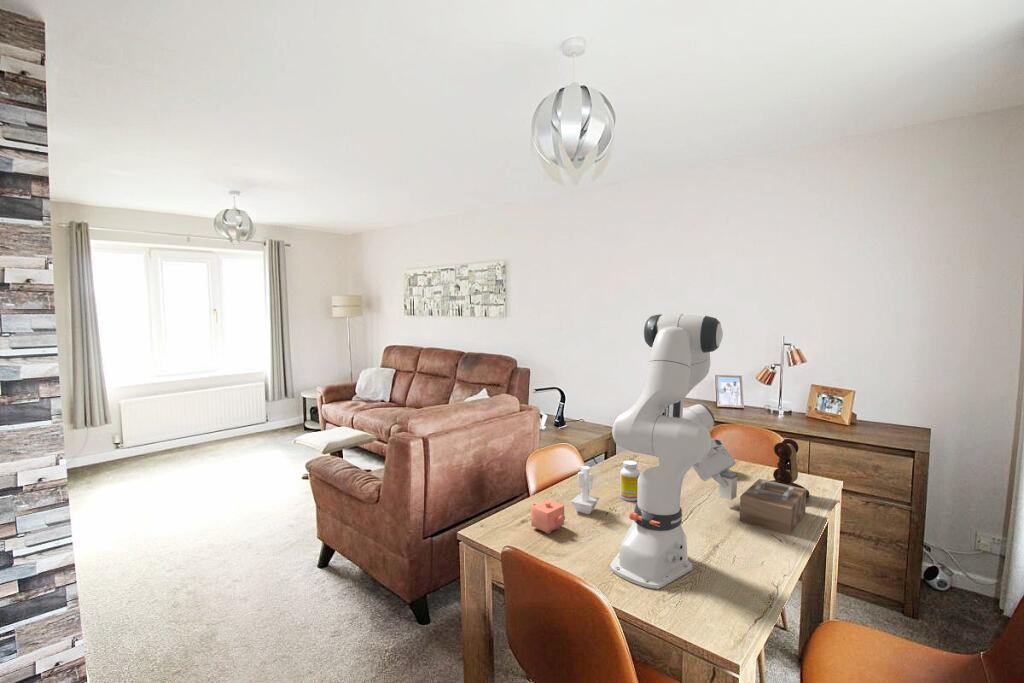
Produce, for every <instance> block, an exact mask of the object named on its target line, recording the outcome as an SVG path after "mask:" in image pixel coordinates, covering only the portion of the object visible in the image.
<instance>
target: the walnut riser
mask: <svg viewBox="0 0 1024 683" xmlns="http://www.w3.org/2000/svg"><path fill="white" fill-rule="evenodd" d="M806 489H807V488H805V489H803V488H799V487H794V486H790V485H785V484H781V483H776V482H772V481H771V480H768V479H767V480H766V479H764V478H763V479H762V478H758V479H757V480H756V481H754V483H753V484H752V485H751V486H750V487H748V488H747V489H746V491H744V492H743V493H742V494H741V495H740V496H739V521H740V522H742V523H746V524H748V525H753V526H755V527H759V528H763V529H766V530H769V531H773V532H777V533H780V534H783V535H787V536H791V535H792V533H793V532H794V530H795V528H797V526H798V524H799V523H800V522H801V520H802V519H803V517H805V516H804V515H805V514H806V508H807V506H806V505H807V504H806V503H807V502H806V501H807V499H806Z"/></svg>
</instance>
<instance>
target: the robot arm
mask: <svg viewBox="0 0 1024 683" xmlns="http://www.w3.org/2000/svg"><path fill="white" fill-rule="evenodd" d="M723 335H724V332H723V328H722V324H721V322H720V321H719V320H718V319H717V317H713V316H709V315H704V316H700V315H692V314H691V315H690V314H683V313H675V314H672V313H671V314H662V313H661V314H655V315H651V316H650V317H648V319H647V320H646V321H645V323H644V327H643V338H644V339H643V340H644V341H645V343H646V345H648V347H649V348H651V350H650V355H649V359H648V364H647V371H646V377H645V381H644V385H643V389H642V391H641V393H640V395H639V397H638V398H637V399H636V401H635V402H634V403H633V404H632V405H631V407H629V408H628V409H627V410H625V411H623V412H621V413H620V414H619V415H618V416H617V417H616V418H615V420H614V422H613V424H612V428H611V429H612V430H611V432H612V438H613V440H614V443H615V444H616V445H617V447H620V448H621V449H624V450H626V451H629V452H632V453H636V454H641V455H647V456H650V457H651V456H652V457H656V458H658V460H659V461H658V465H654V466H652V467H649V468H646V469H644V470H643V471H641V472H640V475H639V477H638V483H637V500H636V501H637V502H636V503H635V507H634V510H633V511H630V513H629V516H628V517H629V520H630V521H631V520H632V522H631V524H630V526H629V528H628V530H627V531H626V534H625V535H624V538H623V539H622V541H621V543H620V547H619V551H618V553H617V554H616V555H615V557H614V558H613V560H612V561H611V562H610V563H609V569H610V570H611V571H612V572H613V573H614V574H615V575H617V576H618V577H620V578H622V579H624V580H626V581H628V582H631V583H633V584H636V585H638V586H642V587H644V588H648V589H656V590H657V589H659V590H660V589H661V588H663V587H665V586H666V585H669V584H670V583H672V582H673V581H675V580H677V579H679V578H680V577H682V576H683V575H686V574H687V573H689V572H690V571H692V570H693V563H692V562H691V561H690V560H689V559H688V558H689V557H688V542H687V541H688V540H687V535H686V533H685V531H684V529H683V527H682V525H681V524H682V519H683V510H682V507H681V494H682V486H683V480H684V478H685V476H686V474H687V473H688V471H689V470H690V469H691V468H692V469H693V470H694V471H695V473H696V474H697V476H698V477H699V479H700V480H702V481H704V482H705V481H708V480H710V479H713V480H714V481H715V482H717V483H718V484H719V485H720V484H721V486H722V487H723V488H725V487H727V486H728V485H729V484H728V483H727V481H726V480H724V479H722V478H721V477H720V476H721V475H720V473H722V472H724V471H728V472H732V473H733V471H732V470H731V468H733V467H734V466H735V465H737V463H736V459H735V458H734V457H733V456H732V454H731V453H730V451H729V450H728V449H727V448H726V447H725V446H723V442H722V441H721V439H717V438H712V436H711V433H710V431H709V430H711V429H712V428H713V427H715V420H716V419H715V415H714V413H713V412H712V410H711V409H710V408H709V407H708V406H706V405H705V404H701V403H696V404H694V405H691V406H687V407H684V402H685V399H686V397H687V396H688V395H689V393H690V392H691V391H692V390H693V389H694V388H695V387H696V386H698V384H700V383H701V382H702V381H703V380H704V379H705V378H706V377H707V376H708V374H709V372H710V368H711V352H715V351H716V350H718V349H719V347H720V346H721V344H722V340H723V337H724V336H723ZM663 413H664V414H663Z"/></svg>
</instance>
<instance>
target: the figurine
mask: <svg viewBox="0 0 1024 683" xmlns="http://www.w3.org/2000/svg"><path fill="white" fill-rule="evenodd" d="M593 483H594V476H593V474H592V473H591V467H590V466H588V465H581V466H580V471H578V472H577V487H578V488H579V489H580V492H581V493H578V494H577V495H576V497H574V498H573V499H572V500H571V501H570V502H571V504H572V505H573V507H574V509H575V511H576V512H577V513H582V514H585V515H590V514H591V513H592V512H593V510H594V509H595V507H596V506H597V504H598V502H599V499H600V497H596V496H593V495H590V490H591V489H593V487H594V484H593Z"/></svg>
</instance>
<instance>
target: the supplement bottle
mask: <svg viewBox="0 0 1024 683" xmlns="http://www.w3.org/2000/svg"><path fill="white" fill-rule="evenodd" d="M622 463H623V464H622V465H623V468H621V470H620V483H619V486H620V490H619V492H620V494H619V495H620V498H621V499H622V500H624V501H629V502H635V501H637V483H638V477H639V475H640V474H641V472H640V470H639V469H638V462H637V461H635V460H624V461H623V462H622Z"/></svg>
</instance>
